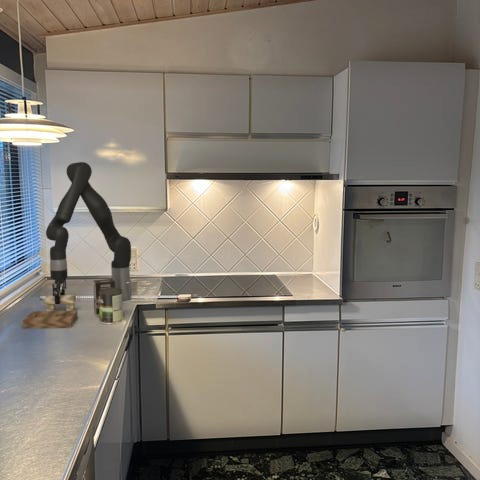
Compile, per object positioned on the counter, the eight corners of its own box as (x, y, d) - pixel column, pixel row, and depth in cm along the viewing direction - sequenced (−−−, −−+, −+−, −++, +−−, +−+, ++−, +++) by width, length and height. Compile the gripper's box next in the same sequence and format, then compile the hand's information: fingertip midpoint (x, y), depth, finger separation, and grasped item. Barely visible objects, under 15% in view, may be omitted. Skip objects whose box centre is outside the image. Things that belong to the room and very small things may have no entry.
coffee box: (96, 317, 223) (95, 283, 220) (93, 313, 229) (92, 280, 226) (116, 314, 227) (115, 281, 225) (113, 310, 233) (112, 278, 230)
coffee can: (101, 325, 211) (100, 294, 209) (98, 318, 221) (97, 288, 219) (125, 322, 215) (124, 292, 213) (121, 316, 225) (120, 286, 223)
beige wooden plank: (76, 311, 232) (75, 294, 230) (74, 313, 228) (73, 297, 226) (48, 311, 230) (47, 295, 229) (45, 314, 226) (44, 297, 225)
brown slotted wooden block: (77, 318, 220) (77, 310, 219) (71, 327, 208) (70, 318, 208) (32, 319, 218) (31, 311, 218) (23, 328, 206) (22, 319, 206)
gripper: (62, 271, 219) (64, 306, 221) (70, 265, 233) (72, 297, 235) (45, 271, 218) (47, 306, 221) (54, 265, 232) (56, 297, 235)
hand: (60, 301), depth 228 cm, fingers open, 8 cm apart
